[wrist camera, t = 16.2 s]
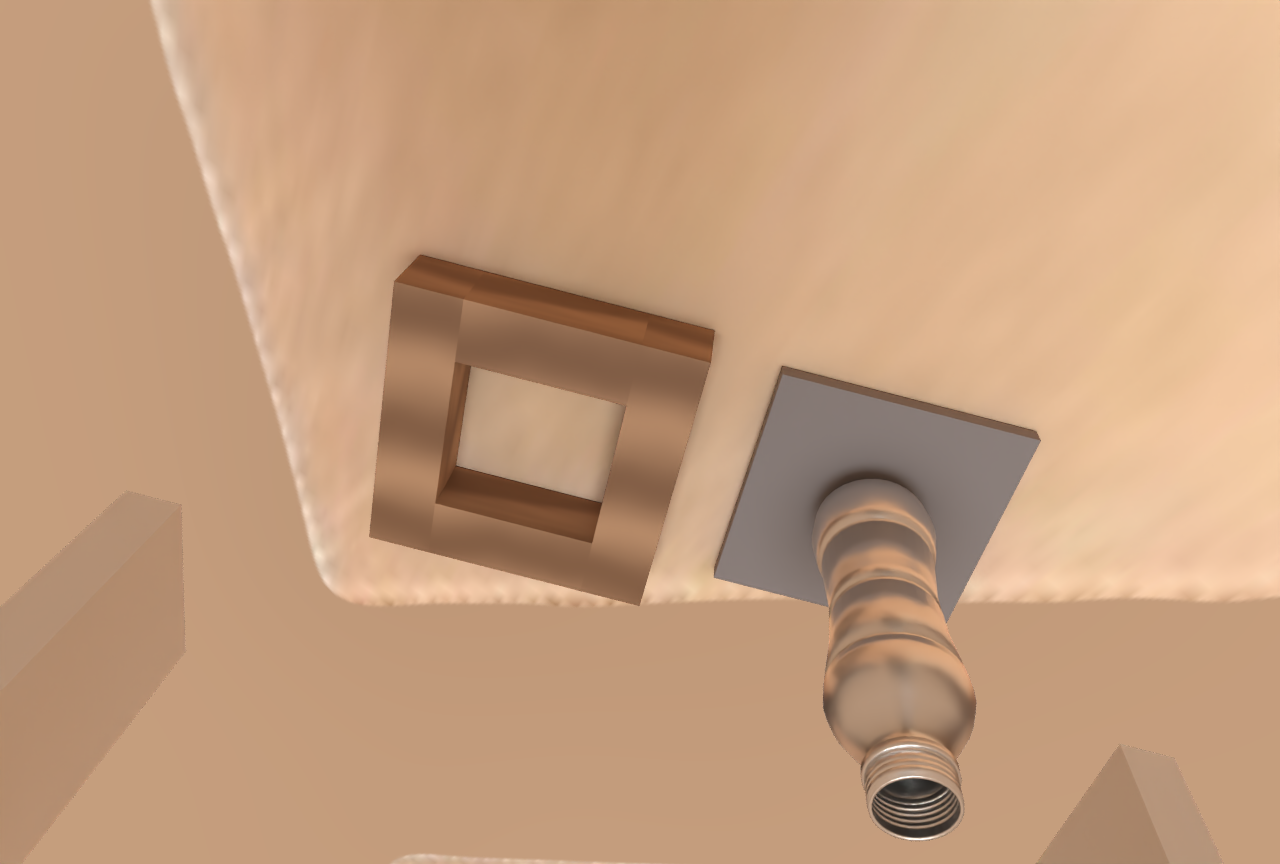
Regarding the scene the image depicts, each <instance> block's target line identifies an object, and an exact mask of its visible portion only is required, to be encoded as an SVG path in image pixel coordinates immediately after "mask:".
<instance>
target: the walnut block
mask: <svg viewBox="0 0 1280 864" xmlns="http://www.w3.org/2000/svg"><path fill="white" fill-rule="evenodd" d="M714 332H715V331H714V330H710V329H706V328H702V327H698V326H695V325H691V324H687V323H683V322H679V321H675V320H671V319H667V318H664V317H660V316H656V315H652V314H648V313H644V312H640V311H636V310H632V309H629V308H625V307H621V306H617V305H613V304H609V303H605V302H601V301H598V300H594V299H590V298H586V297H582V296H578V295H574V294H570V293H566V292H563V291H559V290H555V289H551V288H547V287H543V286H539V285H535V284H532V283H528V282H524V281H520V280H516V279H512V278H508V277H504V276H501V275H497V274H493V273H489V272H485V271H481V270H477V269H473V268H469V267H466V266H462V265H458V264H454V263H450V262H446V261H442V260H438V259H435V258H431V257H427V256H423V255H419V257H418V258H417V259H416V260H415V261H414V262H413V263H412V264H411V265H410V266H409V267H408V268H407V269H406V270H405V271H404V272H403V273H402V274H401V275H400V276H399V277H398V278H397V279H396V280H395V281H394V289H393V299H392V309H391V319H390V330H389V340H388V350H387V360H386V371H385V381H384V391H383V401H382V411H381V422H380V432H379V442H378V452H377V463H376V473H375V483H374V493H373V504H372V514H371V524H370V534H369V537H371V538H375V539H379V540H383V541H387V542H391V543H394V544H398V545H402V546H406V547H410V548H414V549H418V550H422V551H426V552H430V553H434V554H438V555H442V556H445V557H449V558H453V559H457V560H461V561H465V562H469V563H473V564H477V565H481V566H485V567H489V568H493V569H496V570H500V571H504V572H508V573H512V574H516V575H520V576H524V577H528V578H532V579H536V580H540V581H544V582H547V583H551V584H555V585H559V586H563V587H567V588H571V589H575V590H579V591H583V592H587V593H591V594H594V595H598V596H602V597H606V598H610V599H614V600H618V601H622V602H626V603H630V604H634V605H638V606H639V605H640V602H641V599H642V595H643V592H644V588H645V585H646V582H647V578H648V575H649V571H650V568H651V565H652V561H653V558H654V554H655V551H656V548H657V544H658V541H659V537H660V534H661V530H662V527H663V524H664V520H665V517H666V513H667V510H668V507H669V503H670V500H671V496H672V493H673V490H674V486H675V483H676V479H677V476H678V472H679V469H680V466H681V462H682V459H683V455H684V452H685V449H686V445H687V442H688V438H689V435H690V432H691V428H692V425H693V421H694V418H695V415H696V411H697V408H698V404H699V401H700V397H701V394H702V391H703V387H704V384H705V380H706V377H707V374H708V370H709V367H710V363H711V356H712V348H713V340H714ZM471 366H473V367H477V368H481V369H485V370H489V371H493V372H497V373H501V374H505V375H508V376H512V377H516V378H520V379H524V380H528V381H532V382H536V383H540V384H543V385H547V386H551V387H555V388H559V389H563V390H567V391H571V392H575V393H579V394H582V395H586V396H590V397H594V398H598V399H602V400H606V401H610V402H614V403H617V404H621V405H625V406H626V410H625V414H624V418H623V422H622V426H621V430H620V434H619V438H618V442H617V446H616V450H615V454H614V458H613V462H612V466H611V470H610V474H609V478H608V482H607V486H606V490H605V494H604V498H603V502H602V503H598V502H594V501H590V500H586V499H582V498H578V497H575V496H571V495H567V494H563V493H559V492H555V491H551V490H547V489H543V488H539V487H535V486H532V485H528V484H524V483H520V482H516V481H512V480H508V479H504V478H500V477H496V476H493V475H489V474H485V473H481V472H477V471H473V470H469V469H465V468H461V467H457V466H456V461H457V454H458V448H459V441H460V434H461V428H462V421H463V414H464V407H465V401H466V394H467V387H468V380H469V374H470V367H471Z"/></svg>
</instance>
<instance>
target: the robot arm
mask: <svg viewBox="0 0 1280 864" xmlns="http://www.w3.org/2000/svg"><path fill="white" fill-rule="evenodd" d="M182 548H183V547H182V513H181V504H177V503H173V502H169V501H165V500H161V499H157V498H153V497H149V496H145V495H141V494H137V493H133V492H130V491H125V492H124V493H123V494H122V495H121V496H120V497H119V498H118V499H116V500H115V501H114V502H113V503H112V504H111V505H110V506H109V507H108V508H107V509H106V510H104V511H103V513H101V514H100V515H99V516H98V517H97V518H96V519H95V520H94V521H93V522H92V523H90V525H88V526H87V527H86V528H85V529H84V530H83V531H82V532H81V533H80V534H78V536H76V537H75V538H74V539H73V540H72V541H71V542H70V543H69V544H68V545H67V546H65V548H63V549H62V550H61V551H60V552H59V553H58V554H57V555H56V556H55V557H54V558H53V559H51V560H50V561H49V562H48V563H47V564H46V565H45V566H44V567H43V568H42V569H41V570H39V571H38V572H37V573H36V574H35V575H34V576H33V577H32V578H31V579H30V580H29V581H28V582H26V583H25V584H24V585H23V586H22V587H21V588H20V589H19V590H18V591H17V592H16V593H15V594H13V595H12V596H11V597H10V598H9V599H8V600H7V601H6V602H5V603H4V604H3V605H2V606H0V864H22V863H23V862H24V860H25V859H26V858H27V856H28V855H29V854H30V853H31V851H32V850H33V849H34V847H35V846H36V845H37V844H38V842H39V841H40V840H41V838H42V837H43V836H44V834H45V833H46V832H47V831H48V829H49V828H50V827H51V825H52V824H53V823H54V822H55V820H56V819H57V817H58V816H59V815H60V814H61V812H62V811H63V810H64V809H65V807H66V806H67V805H68V803H69V802H70V801H71V799H72V798H73V797H74V796H75V794H76V793H77V792H78V791H79V789H80V788H81V787H82V785H83V784H84V783H85V781H86V780H87V779H88V777H89V776H90V775H91V774H92V772H93V771H94V770H95V769H96V767H97V766H98V765H99V763H100V762H101V761H102V759H103V758H104V757H105V755H106V754H107V753H108V752H109V750H110V749H111V748H112V747H113V745H114V744H115V743H116V741H117V740H118V739H119V737H120V736H121V735H122V733H123V732H124V731H125V730H126V728H127V727H128V726H129V725H130V723H131V722H132V721H133V719H134V718H135V717H136V715H137V714H138V713H139V712H140V710H141V709H142V708H143V706H144V705H145V704H146V702H147V701H148V700H149V699H150V697H151V696H152V695H153V693H154V692H155V691H156V690H157V688H158V687H159V686H160V684H161V683H162V682H163V681H164V679H165V678H166V676H167V675H168V674H169V673H170V671H171V670H172V669H173V668H174V666H175V665H176V664H177V662H178V661H179V660H180V659H181V657H182V656H183V655H184V653H185V620H184V583H183V549H182ZM1036 864H1224V863H1223V860H1222V858H1221V856H1220V854H1219V852H1218V850H1217V848H1216V846H1215V843H1214V841H1213V839H1212V837H1211V835H1210V833H1209V831H1208V829H1207V826H1206V824H1205V822H1204V820H1203V818H1202V816H1201V814H1200V812H1199V809H1198V807H1197V805H1196V803H1195V801H1194V799H1193V797H1192V795H1191V792H1190V790H1189V788H1188V786H1187V784H1186V782H1185V780H1184V778H1183V776H1182V773H1181V771H1180V769H1179V767H1178V765H1177V763H1176V761H1175V758H1173V757H1169V756H1166V755H1161V754H1158V753H1154V752H1150V751H1146V750H1142V749H1138V748H1134V747H1130V746H1126V745H1122V744H1120V745H1119V746H1118V747H1117V749H1116V750H1115V752H1114V753H1113V754H1112V756H1111V757H1110V759H1109V760H1108V762H1107V763H1106V764H1105V766H1104V767H1103V769H1102V770H1101V772H1100V773H1099V774H1098V776H1097V777H1096V779H1095V780H1094V782H1093V783H1092V784H1091V786H1090V787H1089V789H1088V790H1087V791H1086V793H1085V794H1084V796H1083V797H1082V799H1081V800H1080V802H1079V803H1078V804H1077V806H1076V807H1075V809H1074V810H1073V812H1072V813H1071V814H1070V816H1069V817H1068V819H1067V820H1066V821H1065V823H1064V824H1063V826H1062V827H1061V829H1060V830H1059V831H1058V833H1057V834H1056V836H1055V837H1054V839H1053V840H1052V842H1051V843H1050V844H1049V846H1048V847H1047V849H1046V850H1045V851H1044V853H1043V854H1042V856H1041V857H1040V859H1039V860H1038V861H1037V863H1036Z"/></svg>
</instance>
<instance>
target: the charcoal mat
mask: <svg viewBox="0 0 1280 864" xmlns="http://www.w3.org/2000/svg"><path fill="white" fill-rule="evenodd" d="M1040 441H1041V440H1040V438H1039V436H1038V434H1037V432H1036V431H1033V430H1029V429H1025V428H1021V427H1017V426H1013V425H1009V424H1005V423H1002V422H998V421H994V420H990V419H986V418H982V417H978V416H974V415H970V414H967V413H963V412H959V411H955V410H951V409H947V408H943V407H939V406H935V405H932V404H928V403H924V402H920V401H916V400H912V399H908V398H904V397H901V396H897V395H893V394H889V393H885V392H881V391H877V390H873V389H869V388H866V387H862V386H858V385H854V384H850V383H846V382H842V381H838V380H834V379H831V378H827V377H823V376H819V375H815V374H811V373H807V372H803V371H800V370H796V369H792V368H788V367H784V366H782V369H781V372H780V375H779V378H778V381H777V384H776V387H775V390H774V393H773V396H772V399H771V402H770V405H769V408H768V411H767V414H766V417H765V420H764V423H763V425H762V428H761V431H760V434H759V437H758V440H757V443H756V446H755V449H754V452H753V455H752V458H751V461H750V464H749V467H748V470H747V473H746V476H745V479H744V482H743V485H742V488H741V491H740V494H739V497H738V500H737V503H736V506H735V508H734V511H733V514H732V517H731V520H730V523H729V526H728V529H727V532H726V535H725V538H724V541H723V544H722V547H721V550H720V553H719V556H718V559H717V562H716V565H715V569H714V578H717V579H721V580H725V581H729V582H733V583H737V584H741V585H745V586H749V587H753V588H756V589H760V590H764V591H768V592H772V593H776V594H780V595H784V596H788V597H792V598H796V599H800V600H803V601H807V602H811V603H815V604H819V605H823V606H827V607H829V605H828V600H827V595H826V590H825V585H824V581H823V578H822V576H821V573H820V571H819V569H818V565H817V561H816V558H815V554H814V550H813V547H812V532H813V527H814V523H815V518H816V514H817V511H818V509H819V507H820V505H821V504H822V502H823V501H824V500H825V498H826V497H827V496H828V495H829V494H830V493H832V492H833V491H834V490H835V489H837V488H839V487H841V486H842V485H844V484H847V483H850V482H852V481H856V480H862V479H881V480H887V481H890V482H893V483H896V484H899V485H901V486H902V487H904V488H906V489H908V490H909V491H910V492H911V493H913V494H914V495H915V496H916V497H917V498H918V500H919V501H920V502H921V503H922V505H923V507H924V508H925V510H926V512H927V513H928V515H929V517H930V519H931V521H932V523H933V525H934V530H935V534H936V564H935V575H936V584H937V594H938V600H939V603H940V606H941V611H942V613H943V615H944V619H945V622H946V623H947V621H948V619H949V617H950V615H951V613H952V611H953V610H954V608H955V606H956V604H957V602H958V600H959V598H960V596H961V594H962V592H963V590H964V588H965V586H966V584H967V582H968V581H969V579H970V577H971V575H972V573H973V571H974V569H975V567H976V565H977V563H978V561H979V559H980V557H981V555H982V553H983V551H984V550H985V548H986V546H987V544H988V542H989V540H990V538H991V536H992V534H993V532H994V530H995V528H996V526H997V524H998V522H999V521H1000V519H1001V517H1002V515H1003V513H1004V511H1005V509H1006V507H1007V505H1008V503H1009V501H1010V499H1011V497H1012V495H1013V493H1014V491H1015V490H1016V488H1017V486H1018V484H1019V482H1020V480H1021V478H1022V476H1023V474H1024V472H1025V470H1026V468H1027V466H1028V464H1029V462H1030V461H1031V459H1032V457H1033V455H1034V453H1035V451H1036V449H1037V447H1038V445H1039V443H1040Z"/></svg>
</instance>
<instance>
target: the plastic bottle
mask: <svg viewBox="0 0 1280 864" xmlns="http://www.w3.org/2000/svg"><path fill="white" fill-rule="evenodd" d="M812 547H813V550H814V554H815V558H816V561H817V565H818V569H819V571H820V573H821V576H822V578H823V581H824V585H825V590H826V595H827V600H828V605H829V647H828V654H827V662H826V669H825V676H824V683H823V709H824V713H825V716H826V719H827V722H828V724H829V726H830V728H831V730H832V732H833V734H834V736H835V738H836V739H837V741H838V743H839V744H840V745H841V746H842V747H843V748H844V749H845V750H846V752H848V753H849V755H850V756H852V758H853V759H854V760H855V761H856V762H857V763H859V764H860V765H861V780H862V785H863V788H864V790H865V793H866V801H867V808H868V811H869V814H870V817H871V819H872V821H873V822H874V823H875V825H876V826H877V827H878V828H880V829H881V830H882V831H884V832H885V833H887V834H889V835H891V836H893V837H897V838H900V839H903V840H909V841H927V840H933V839H937V838H940V837H942V836H945V835H947V834H948V833H950V832H952V831H953V830H954V829H955V828H956V827H957V826H958V825H959V824H960V822H961V821H962V818H963V816H964V800H963V795H962V791H961V774H960V769H959V765H958V762H957V760H956V759H957V758H958V756H959V755H960V753H961V752H962V750H963V749H964V747H965V745H966V744H967V742H968V740H969V739H970V736H971V733H972V731H973V727H974V720H975V714H976V697H975V692H974V689H973V686H972V683H971V680H970V677H969V675H968V673H967V671H966V669H965V667H964V665H963V663H962V660H961V658H960V656H959V654H958V652H957V649H956V647H955V646H954V643H953V641H952V639H951V637H950V634H949V632H948V628H947V625H946V622H945V619H944V615H943V613H942V611H941V606H940V603H939V600H938V594H937V584H936V575H935V564H936V534H935V530H934V525H933V523H932V521H931V519H930V517H929V515H928V513H927V512H926V510H925V508H924V507H923V505H922V503H921V502H920V501H919V500H918V498H917V497H916V496H915V495H914V494H913V493H911V492H910V491H909V490H908V489H906V488H904V487H902V486H901V485H899V484H896V483H893V482H890V481H887V480H881V479H862V480H856V481H852V482H850V483H847V484H844V485H842V486H841V487H839V488H837V489H835V490H834V491H833V492H832V493H830V494H829V495H828V496H827V497H826V498H825V500H824V501H823V502H822V504H821V505H820V507H819V509H818V511H817V514H816V518H815V523H814V527H813V532H812Z"/></svg>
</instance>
